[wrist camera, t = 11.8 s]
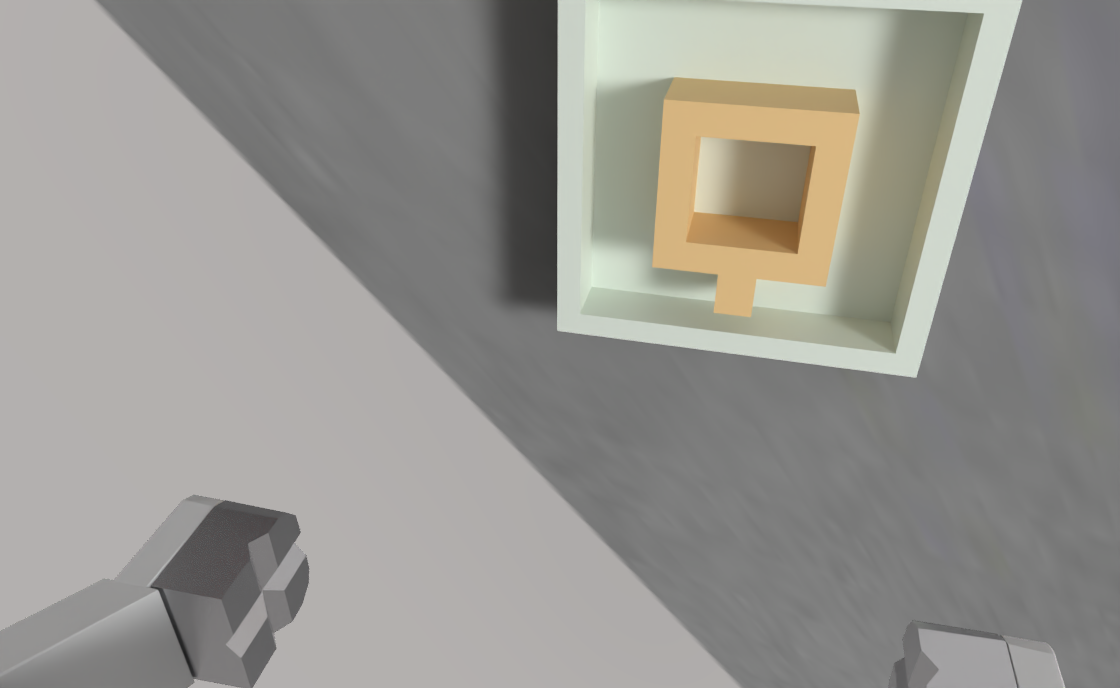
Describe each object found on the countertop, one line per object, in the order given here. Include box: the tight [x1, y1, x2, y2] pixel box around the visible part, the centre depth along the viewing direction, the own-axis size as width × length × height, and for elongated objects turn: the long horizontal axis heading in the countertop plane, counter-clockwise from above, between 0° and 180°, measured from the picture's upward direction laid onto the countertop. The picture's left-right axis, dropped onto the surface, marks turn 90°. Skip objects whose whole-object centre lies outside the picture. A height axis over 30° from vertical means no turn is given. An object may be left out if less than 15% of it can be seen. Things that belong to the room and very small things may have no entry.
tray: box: [557, 0, 1022, 377], centre depth 26 cm, size 12×12×2 cm
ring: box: [652, 77, 860, 317], centre depth 27 cm, size 7×5×2 cm
